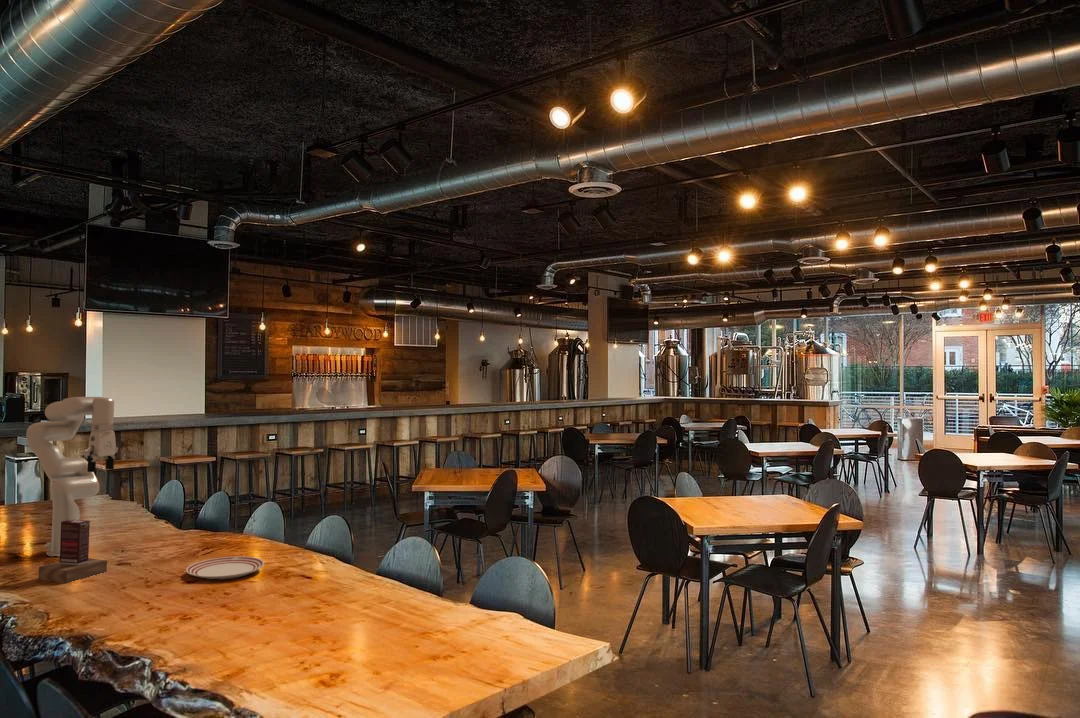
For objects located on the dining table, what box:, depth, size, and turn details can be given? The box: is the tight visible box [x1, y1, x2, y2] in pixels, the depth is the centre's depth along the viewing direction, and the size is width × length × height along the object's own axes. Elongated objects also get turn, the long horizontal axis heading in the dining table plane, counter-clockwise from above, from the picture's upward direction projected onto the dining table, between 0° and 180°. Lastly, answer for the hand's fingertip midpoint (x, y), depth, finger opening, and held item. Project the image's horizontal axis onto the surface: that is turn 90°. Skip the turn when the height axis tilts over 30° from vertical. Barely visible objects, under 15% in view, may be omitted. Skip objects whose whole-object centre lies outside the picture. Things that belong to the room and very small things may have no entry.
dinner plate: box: [185, 556, 265, 580], centre depth 272 cm, size 27×27×3 cm
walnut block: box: [38, 557, 108, 584], centre depth 265 cm, size 14×16×5 cm
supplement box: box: [59, 519, 91, 566], centre depth 265 cm, size 9×5×16 cm, turn 78°
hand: (100, 470), depth 289 cm, fingers open, 9 cm apart
